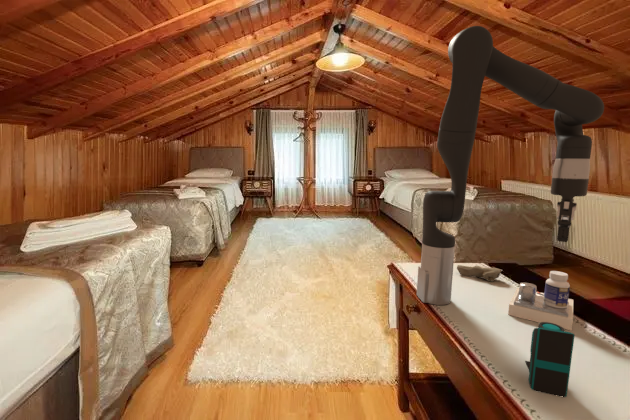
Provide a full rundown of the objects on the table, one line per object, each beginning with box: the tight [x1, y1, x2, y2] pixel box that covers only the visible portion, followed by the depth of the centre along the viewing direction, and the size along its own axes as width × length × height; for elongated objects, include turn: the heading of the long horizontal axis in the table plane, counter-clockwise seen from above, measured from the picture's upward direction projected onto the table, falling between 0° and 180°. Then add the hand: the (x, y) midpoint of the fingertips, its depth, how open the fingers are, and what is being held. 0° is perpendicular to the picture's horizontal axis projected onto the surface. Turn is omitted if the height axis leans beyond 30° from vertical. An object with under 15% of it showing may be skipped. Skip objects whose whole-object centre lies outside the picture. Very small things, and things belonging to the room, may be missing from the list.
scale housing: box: [507, 287, 574, 331], centre depth 94 cm, size 16×14×4 cm
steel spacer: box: [518, 282, 538, 301], centre depth 94 cm, size 4×4×4 cm
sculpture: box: [456, 264, 502, 282], centre depth 123 cm, size 7×5×15 cm
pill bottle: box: [543, 270, 571, 308], centre depth 89 cm, size 5×5×9 cm
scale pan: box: [514, 292, 569, 317], centre depth 92 cm, size 10×12×1 cm
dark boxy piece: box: [524, 322, 576, 398], centre depth 64 cm, size 6×12×10 cm
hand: (562, 238), depth 88 cm, fingers open, 8 cm apart
